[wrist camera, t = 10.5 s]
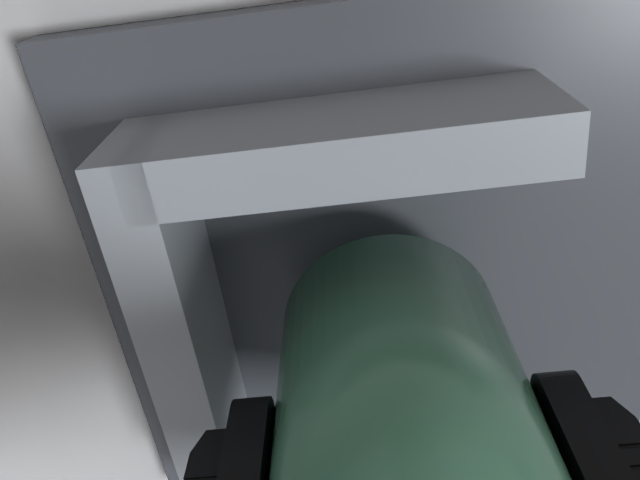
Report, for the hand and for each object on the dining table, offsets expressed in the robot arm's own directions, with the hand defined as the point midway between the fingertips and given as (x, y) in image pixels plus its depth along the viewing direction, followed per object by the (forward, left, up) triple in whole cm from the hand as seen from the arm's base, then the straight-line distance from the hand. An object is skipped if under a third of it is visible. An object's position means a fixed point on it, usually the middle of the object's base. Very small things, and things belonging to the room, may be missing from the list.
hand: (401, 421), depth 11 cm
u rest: (0, 0, -5) cm, 5 cm away
